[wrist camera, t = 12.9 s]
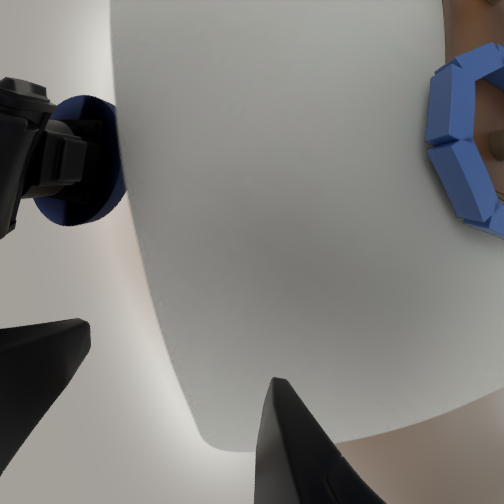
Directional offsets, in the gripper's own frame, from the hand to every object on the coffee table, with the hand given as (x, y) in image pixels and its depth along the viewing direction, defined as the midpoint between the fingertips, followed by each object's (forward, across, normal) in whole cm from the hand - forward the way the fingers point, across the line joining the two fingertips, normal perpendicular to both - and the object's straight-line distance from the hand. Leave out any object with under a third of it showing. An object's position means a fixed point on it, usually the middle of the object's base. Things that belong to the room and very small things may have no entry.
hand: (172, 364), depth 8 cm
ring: (+8, -15, -12) cm, 21 cm away
